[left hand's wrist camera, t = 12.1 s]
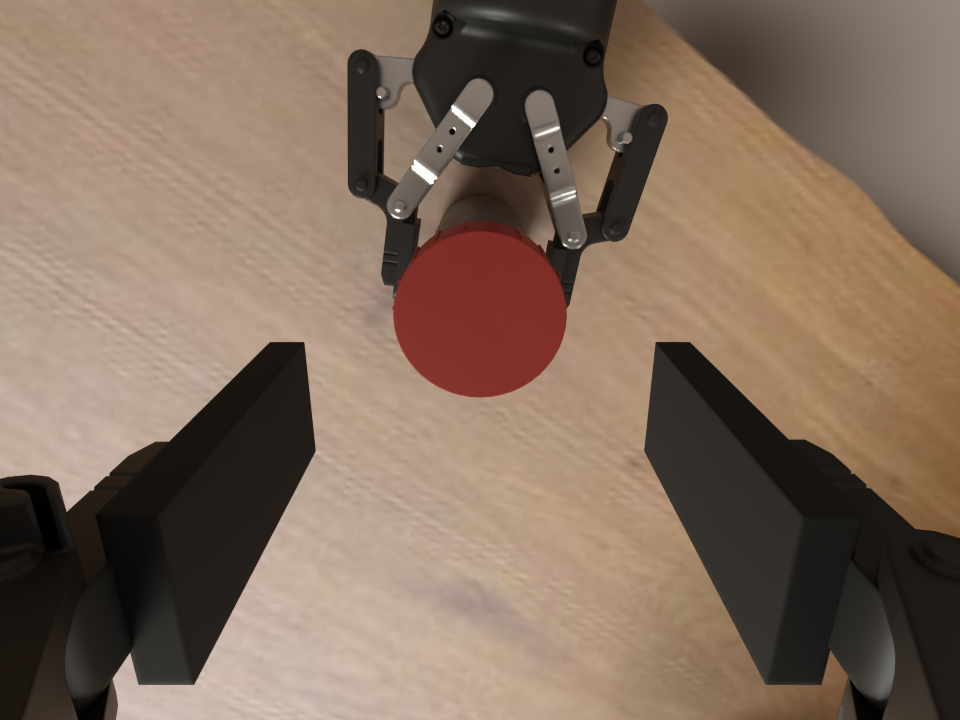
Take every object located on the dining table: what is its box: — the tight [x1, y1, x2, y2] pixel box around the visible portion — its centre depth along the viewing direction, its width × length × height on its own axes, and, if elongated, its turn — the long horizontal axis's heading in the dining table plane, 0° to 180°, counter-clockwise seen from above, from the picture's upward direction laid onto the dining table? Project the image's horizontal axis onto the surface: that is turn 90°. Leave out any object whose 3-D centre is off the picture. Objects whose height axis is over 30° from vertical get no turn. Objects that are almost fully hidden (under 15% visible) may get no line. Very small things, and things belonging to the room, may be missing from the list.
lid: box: [393, 220, 567, 397], centre depth 21 cm, size 6×6×2 cm
